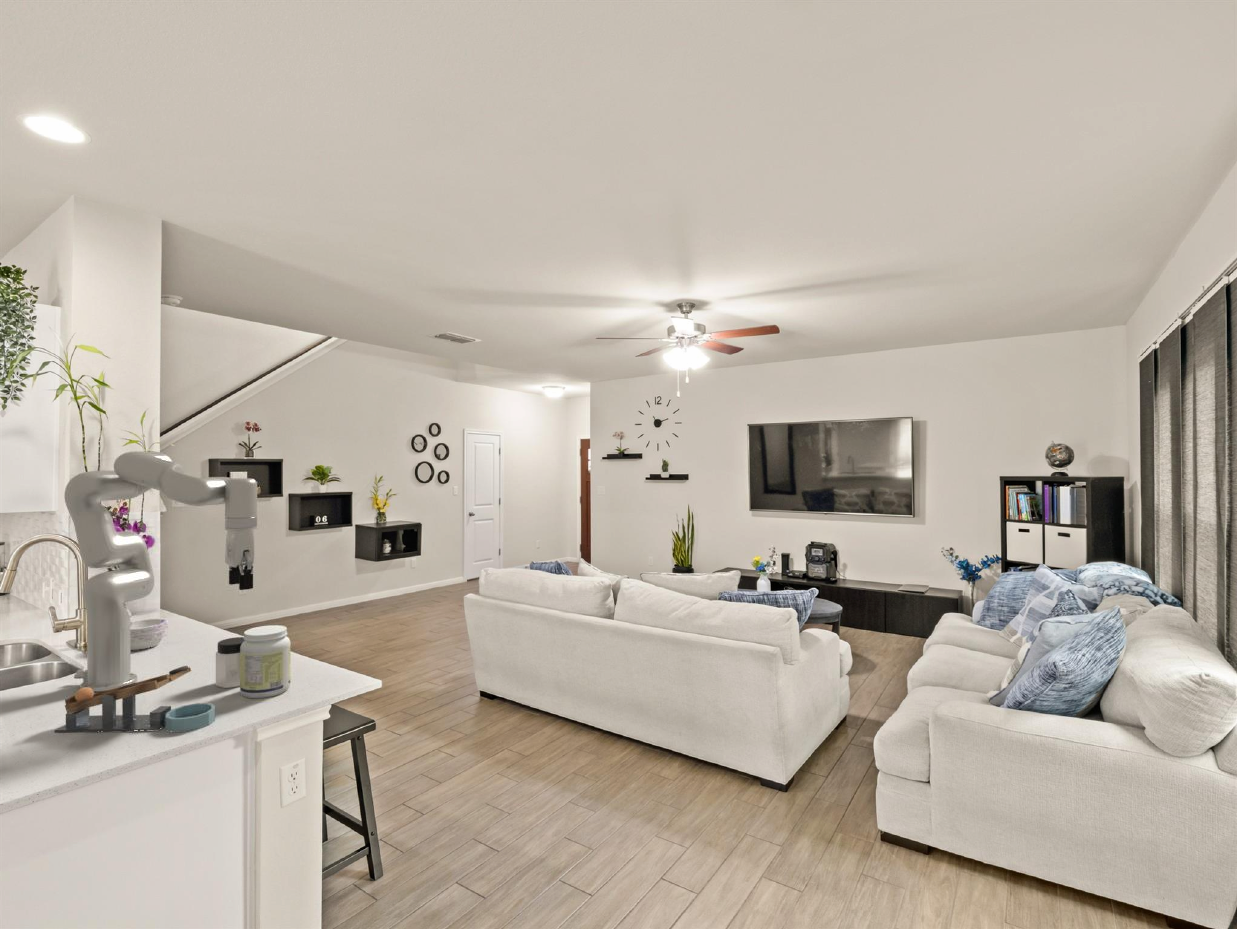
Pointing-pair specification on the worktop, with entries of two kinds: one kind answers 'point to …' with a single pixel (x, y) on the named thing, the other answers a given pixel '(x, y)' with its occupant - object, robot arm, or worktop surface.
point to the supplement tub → (265, 662)
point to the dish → (190, 717)
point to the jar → (228, 662)
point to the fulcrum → (114, 718)
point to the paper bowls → (147, 633)
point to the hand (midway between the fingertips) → (240, 586)
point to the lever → (126, 690)
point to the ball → (84, 694)
